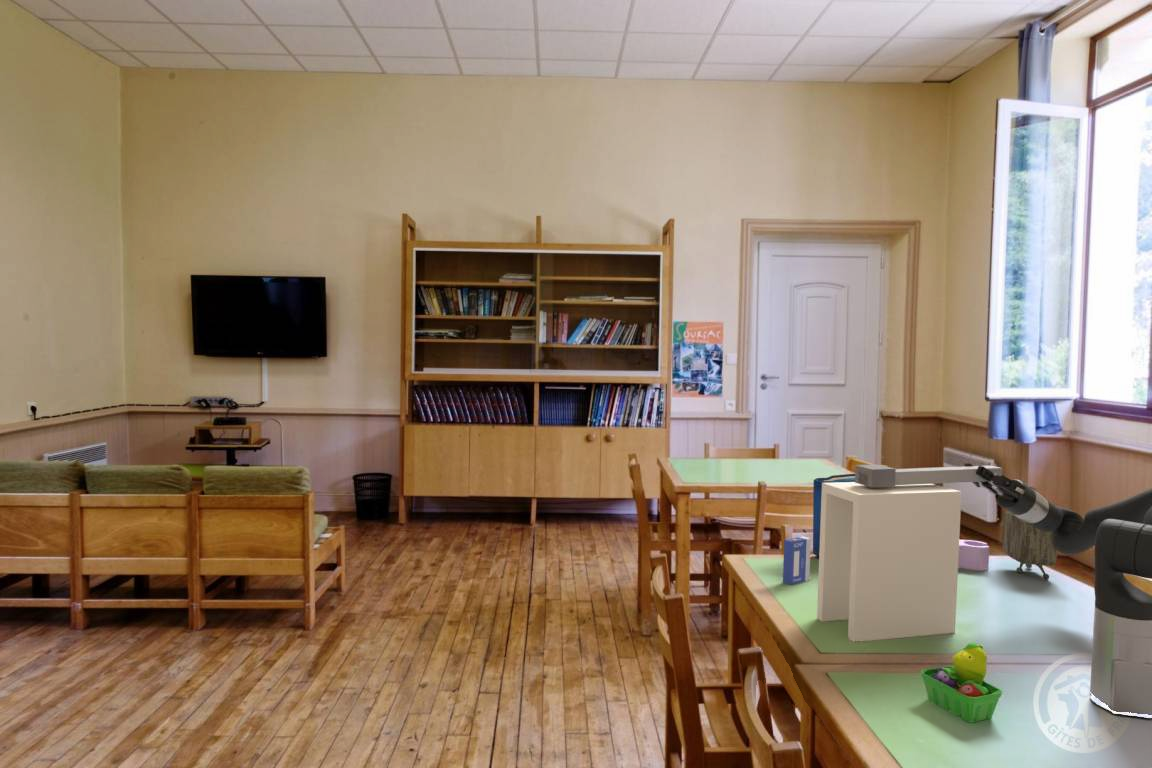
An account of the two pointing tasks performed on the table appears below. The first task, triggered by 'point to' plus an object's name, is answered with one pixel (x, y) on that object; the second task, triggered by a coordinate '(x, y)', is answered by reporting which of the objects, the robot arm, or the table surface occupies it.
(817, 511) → the book
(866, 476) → the grey square-ended bar
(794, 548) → the walkman
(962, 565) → the pink oval container
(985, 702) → the fruit basket
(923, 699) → the table surface
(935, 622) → the stand
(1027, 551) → the tabletop clock
